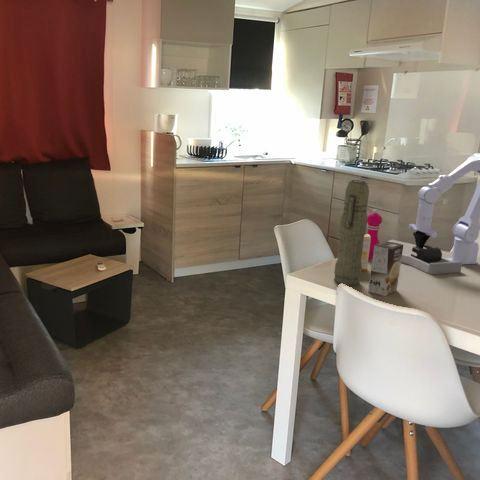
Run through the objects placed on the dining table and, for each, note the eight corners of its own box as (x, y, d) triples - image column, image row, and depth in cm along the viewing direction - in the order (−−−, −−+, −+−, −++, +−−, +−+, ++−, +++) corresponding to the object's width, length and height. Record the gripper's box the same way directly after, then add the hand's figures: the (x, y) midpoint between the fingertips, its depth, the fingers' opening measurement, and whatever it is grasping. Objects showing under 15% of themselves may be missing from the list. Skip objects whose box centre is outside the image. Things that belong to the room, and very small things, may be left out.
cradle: (432, 258, 222) (434, 249, 221) (463, 271, 207) (465, 261, 206) (397, 261, 216) (399, 251, 215) (427, 274, 200) (428, 264, 199)
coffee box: (385, 296, 174) (392, 249, 170) (367, 291, 178) (373, 244, 174) (397, 290, 181) (404, 244, 177) (379, 285, 185) (385, 240, 181)
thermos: (362, 279, 190) (375, 180, 182) (355, 288, 180) (368, 184, 171) (338, 274, 194) (349, 177, 185) (329, 284, 183) (341, 181, 174)
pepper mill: (378, 261, 214) (385, 211, 209) (360, 259, 215) (366, 210, 210) (378, 256, 221) (384, 208, 216) (360, 254, 222) (366, 206, 217)
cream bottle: (365, 267, 205) (369, 233, 202) (367, 271, 200) (371, 236, 197) (343, 265, 206) (347, 232, 202) (344, 269, 201) (348, 235, 198)
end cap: (421, 268, 209) (425, 252, 206) (408, 261, 214) (412, 245, 212) (439, 266, 213) (443, 250, 211) (426, 259, 219) (430, 243, 217)
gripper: (404, 213, 218) (399, 245, 222) (428, 221, 205) (423, 255, 209) (418, 213, 221) (413, 245, 224) (443, 221, 208) (437, 255, 211)
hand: (419, 250), depth 217 cm, fingers closed
